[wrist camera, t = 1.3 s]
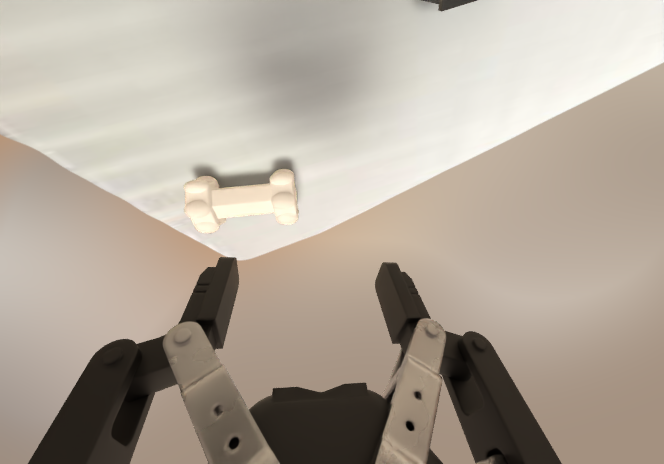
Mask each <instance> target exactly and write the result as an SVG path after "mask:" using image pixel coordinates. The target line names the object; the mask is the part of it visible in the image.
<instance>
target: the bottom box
mask: <svg viewBox="0 0 664 464" xmlns="http://www.w3.org/2000/svg"><path fill="white" fill-rule="evenodd" d="M423 1H427V2H432V3H436V4H439V9H438V10H439V11H445V10H448V9H451V8H454V7H457V6H461V5H464V4H467V3H470V2H473V1H477V0H423Z"/></svg>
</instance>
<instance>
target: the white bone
mask: <svg viewBox="0 0 664 464" xmlns="http://www.w3.org/2000/svg"><path fill="white" fill-rule="evenodd" d="M184 190H185V208H184V212H185V214H186V215H187V216H188V217H190V219H191V221H192V222H193V224H194V225H195V228H196V230H197V231H199V232H201V233H213V232H215V231H217V230H218V229H219V226H220V225H221V224H223V223H225V222H226V218H231V217H240V216H250V215H260V214H269V213H275V216H276V220H277V222H278V223H280V224H283V225H290V224H293V223H295V222H296V221H297V220H298V213H299V210H298V207H297V197H296V195H297V191H296V189H295V182H294V174H293V172H292V171H290V170H288V169H280V170H277V171H275V172H274V173H273V175H272V176H271V177H270V183H269V184H259V185H248V186H237V187H226V188H220V187H219V185H218V182H217V180H216V179H215V178H213V177H210V176H201V177H198V178H197V179H195V180H192V181H189V182H187V183H185V185H184Z"/></svg>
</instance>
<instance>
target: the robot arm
mask: <svg viewBox="0 0 664 464" xmlns="http://www.w3.org/2000/svg"><path fill="white" fill-rule="evenodd" d="M238 285H239V275H238V267H237V260H236V258H233V257H220V258H219V260H218V263H217V266H216V267H208V268H207V269H206V270H205V271H204V272H203V273H202V274H201V275H200V277H199V279H198V282H197V285H196V286H195V288H194V290H193V293H192V295H191V297H190V300H189V302H188V304H187V306H186V309H185V311H184V313H183V316H182V318H181V320H180V322H179V324H178V325H176V326H174V327H173V328H172V329H171V330H169V331H168V333H167V334H166V335H164V336H162V337H159V338H156V339H153V340H149V341H146V342H142V343H139V344H136V343H135V342H134V341H132V340H129V339H121V340H116V341H114V342H111V343H109V344H107V345H105V346H104V347H102V348H101V349H100V350H99V351H97V352H96V353H95V355H94V356H93V357H92V358H91V360H90V362H89V363H88V365H87V367H86V368H85V370H84V371H83V373H82V375H81V376H80V378H79V380H78V381H77V383H76V385H75V387H74V388H73V390H72V391H71V393H70V395H69V397H68V398H67V400H66V402H65V403H64V405H63V406H62V408H61V410H60V411H59V413H58V415H57V416H56V418H55V420H54V421H53V423H52V425H51V426H50V428H49V429H48V431H47V433H46V434H45V436H44V438H43V440H42V441H41V443H40V444H39V446H38V448H37V450H36V451H35V453H34V455H33V456H32V458H31V459H30V461H29V463H28V464H130V461H131V458H132V456H133V452H134V450H135V447H136V444H137V442H138V439H139V436H140V433H141V430H142V428H143V425H144V422H145V420H146V417H147V414H148V411H149V408H150V406H151V403H152V400H153V397H154V395H155V392H157V391H160V390H163V389H165V388H168V387H171V386H173V385H176V384H178V385H179V388H180V390H181V396H182V398H183V401H184V403H185V406H186V408H187V411H188V413H189V416H190V418H191V421H192V423H193V426H194V428H195V431H196V433H197V436H198V438H199V441H200V443H201V446H202V448H203V451H204V453H205V456H206V458H207V461H208V464H443V463H442V462H441V461H440V460H439V459H438V457H437V456H436V455H435V454H434V453H433V451H431V449H430V444H431V438H432V433H433V428H434V423H435V417H436V412H437V407H438V402H439V396H440V391H441V386H442V377H441V376H440V375H439V374H441V375H442V376H443V379H444V382H445V384H446V387H447V389H448V392H449V395H450V397H451V400H452V402H453V405H454V408H455V410H456V413H457V416H458V418H459V421H460V423H461V426H462V429H463V431H464V434H465V436H466V439H467V442H468V444H469V447H470V450H471V452H472V455H473V457H474V460H475V463H476V464H561V462H560V460H559V458H558V457H557V455H556V453H555V451H554V450H553V449H552V446H551V445H550V443H549V441H548V440H547V438H546V436H545V434H544V433H543V431H542V429H541V428H540V426H539V424H538V423H537V421H536V419H535V418H534V416H533V414H532V413H531V411H530V409H529V407H528V406H527V404H526V402H525V401H524V399H523V397H522V396H521V394H520V392H519V391H518V389H517V387H516V385H515V384H514V382H513V380H512V379H511V377H510V375H509V374H508V372H507V370H506V368H505V367H504V365H503V363H502V362H501V360H500V358H499V357H498V355H497V353H496V351H495V350H494V348H493V346H492V345H491V343H490V342H489V341H488V340H487V339H486V338H485V337H484V336H482V335H480V334H479V333H476V332H472V331H469V332H466V333H465V334H464V335H463V336H460V335H456V334H453V333H450V332H447V331H444V329H443V328H442V326H441V325H440V324H438V323H437V322H436V321H434V320H432V319H431V318H430V316H429V314H428V312H427V310H426V308H425V306H424V304H423V302H422V300H421V297H420V295H418V291H417V289H416V288H415V285H414V283H413V281H412V279H411V278H410V277H409V276H408V275H407V274H406V273H405V272H401V271H400V269H399V266H398V265H397V263H386V262H383V263H382V265H381V268H380V270H379V273H378V276H377V278H376V282H375V288H376V293H377V296H378V299H379V302H380V305H381V308H382V312H383V315H384V318H385V321H386V324H387V328H388V331H389V334H390V337H391V340H392V343H393V344H400V345H401V348H402V349H401V350H400V353H399V355H398V358H397V361H396V363H395V366H394V369H393V372H392V374H391V377H390V380H389V382H388V384H387V386H386V388H385V390H384V393H383V395H382V396H381V395H379V394H377V393H375V392H373V391H370V390H367V385H366V383H353V384H343V385H341V386H338V387H335V388H333V389H330V390H327V391H325V392H316V391H312V390H308V389H303V388H299V387H289V388H273V393H272V395H271V396H269V397H266V398H264V399H263V400H261V401H259V402H258V403H256V404H255V405H254V406H253V407H251V408H250V409H248V408H247V406H246V404H245V402H244V400H243V399H242V397H241V395H240V393H239V391H238V389H237V388H236V386H235V384H234V382H233V380H232V379H231V377H230V375H229V373H228V371H227V370H226V368H225V366H224V365H223V364H222V363H221V362H220V360H219V358H218V357H217V355H216V353H215V349H221V348H223V345H224V341H225V337H226V333H227V329H228V325H229V322H230V318H231V314H232V310H233V306H234V302H235V298H236V294H237V290H238Z"/></svg>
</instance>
